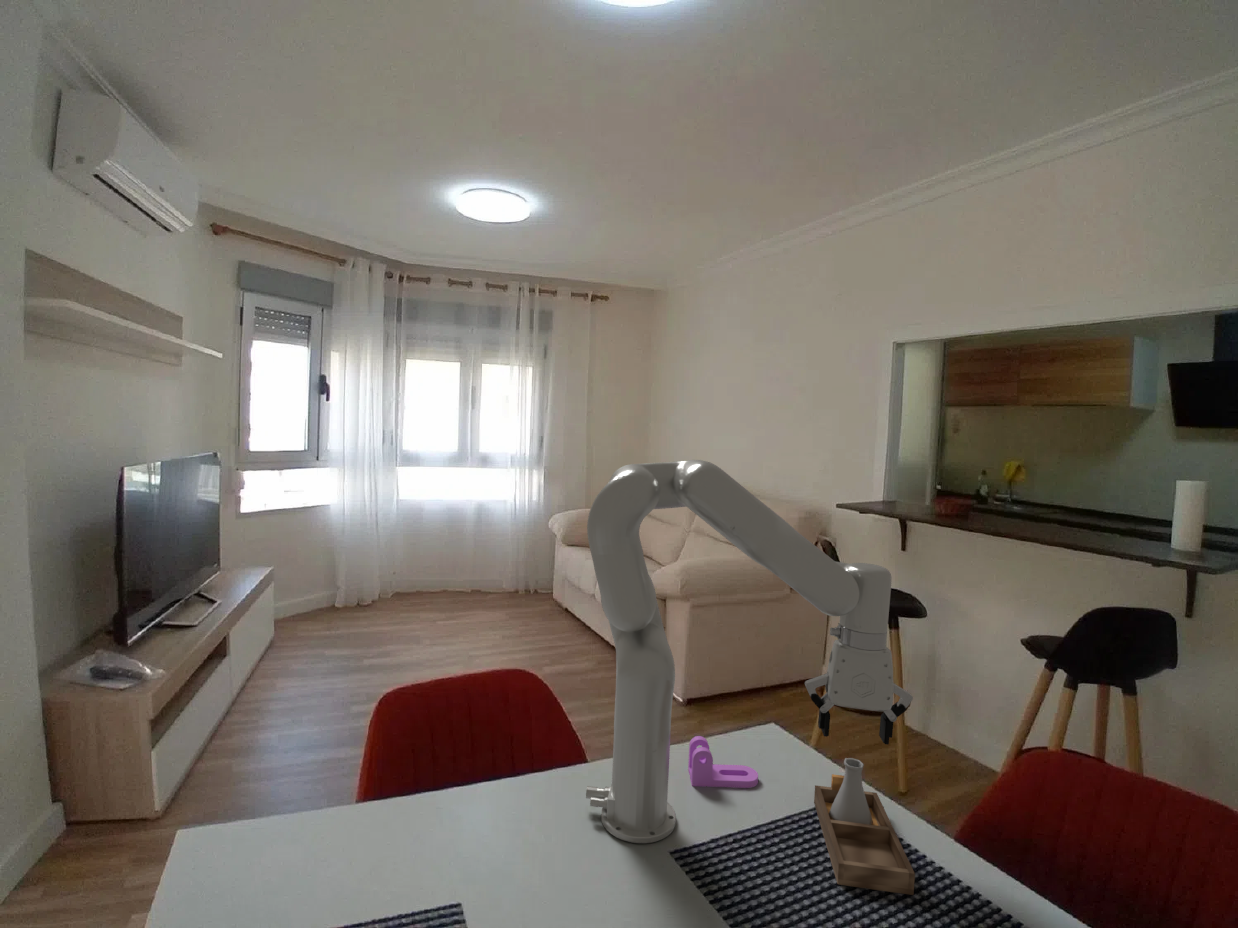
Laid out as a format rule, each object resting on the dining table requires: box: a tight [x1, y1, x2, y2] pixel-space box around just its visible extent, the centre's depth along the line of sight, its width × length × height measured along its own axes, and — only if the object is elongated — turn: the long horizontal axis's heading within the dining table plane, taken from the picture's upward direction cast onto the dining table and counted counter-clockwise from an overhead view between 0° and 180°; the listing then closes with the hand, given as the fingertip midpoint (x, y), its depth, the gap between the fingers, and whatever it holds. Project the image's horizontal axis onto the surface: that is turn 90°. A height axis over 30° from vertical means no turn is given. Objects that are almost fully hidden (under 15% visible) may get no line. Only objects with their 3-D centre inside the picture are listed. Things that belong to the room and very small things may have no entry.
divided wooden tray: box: [813, 773, 916, 896], centre depth 98 cm, size 11×20×6 cm, turn 171°
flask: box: [829, 757, 873, 825], centre depth 103 cm, size 7×7×10 cm
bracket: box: [687, 735, 759, 789], centre depth 116 cm, size 13×6×7 cm, turn 91°
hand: (854, 736), depth 103 cm, fingers open, 9 cm apart
